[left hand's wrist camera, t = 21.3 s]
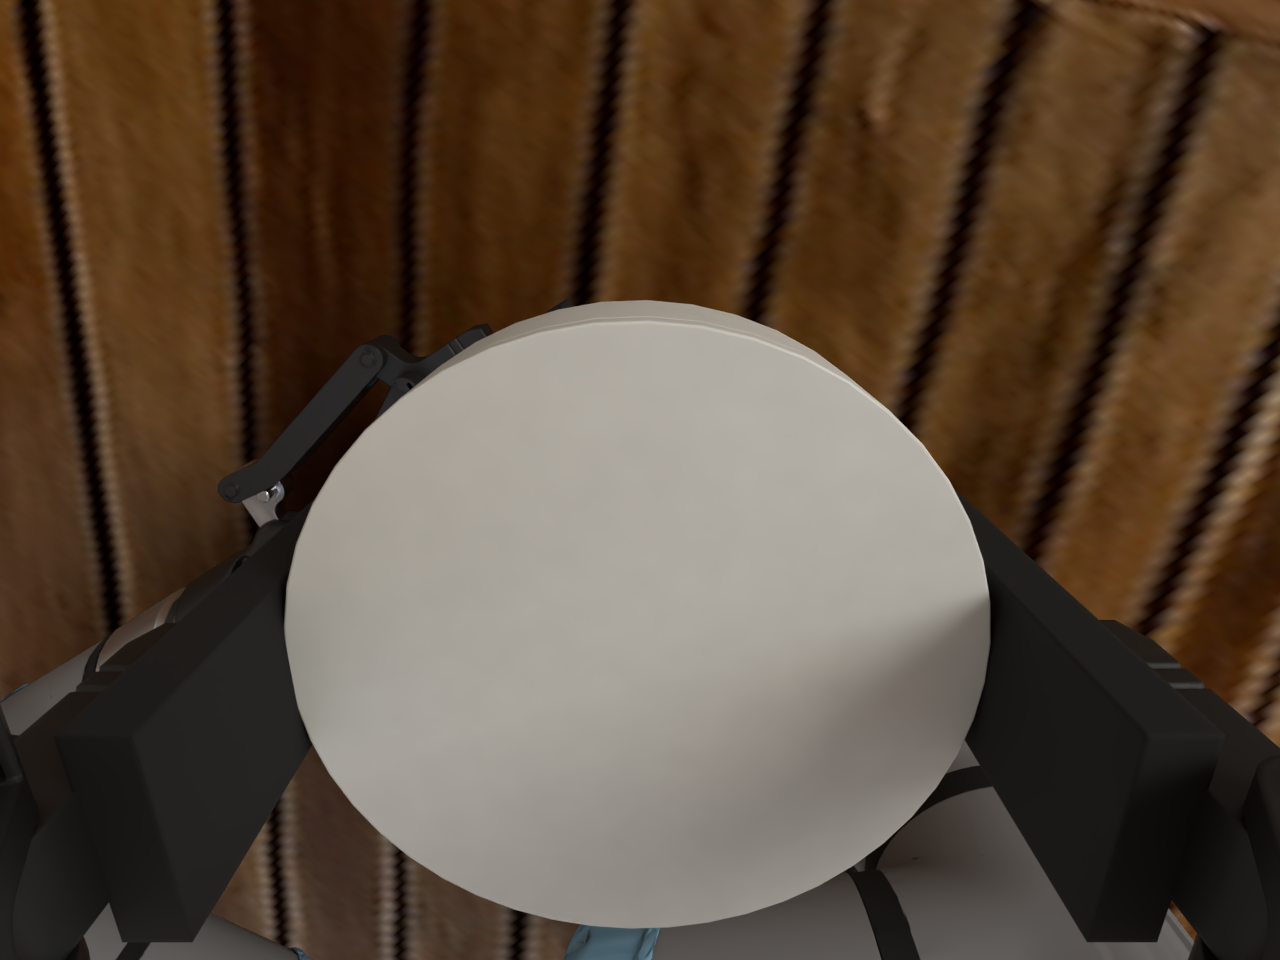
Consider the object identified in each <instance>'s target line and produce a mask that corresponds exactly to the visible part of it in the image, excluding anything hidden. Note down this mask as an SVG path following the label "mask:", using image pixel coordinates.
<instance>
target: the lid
mask: <svg viewBox="0 0 1280 960" xmlns="http://www.w3.org/2000/svg"><path fill="white" fill-rule="evenodd" d="M284 635H285V641H286V647H287V653H288V659H289V664H290V669H291V674H292V680H293V685H294V690H295V695H296V700H297V705H298V709H299V713H300V715H301V718H302V720H303V723H304V725H305V728H306V730H307V733H308V735H309V738H310V740H311V742H312V744H313V746H314V748H315V749H316V751H317V753H318V755H319V756H320V758H321V760H322V762H323V763H324V765H325V767H326V769H327V770H328V772H329V774H330V775H331V777H332V778H333V779H334V781H335V782H336V783H337V785H338V786H339V787H340V789H341V790H342V791H343V793H344V794H345V795H346V797H347V798H348V799H349V801H350V802H351V803H352V805H353V806H354V807H355V808H356V809H357V810H358V811H359V812H360V813H361V814H362V815H363V816H364V817H365V818H366V819H367V820H368V821H369V822H370V823H371V824H372V825H373V826H374V827H375V828H376V829H377V830H378V831H379V832H380V833H381V834H382V835H383V836H384V837H386V838H387V839H388V840H389V841H391V842H392V843H393V844H394V845H396V846H397V847H398V848H399V849H400V850H402V851H403V852H404V853H405V854H407V855H408V856H409V857H410V858H412V859H413V860H415V861H417V862H418V863H420V864H421V865H423V866H424V867H426V868H428V869H429V870H431V871H432V872H434V873H435V874H437V875H438V876H440V877H442V878H443V879H445V880H447V881H449V882H451V883H453V884H455V885H457V886H459V887H461V888H463V889H465V890H467V891H469V892H471V893H473V894H475V895H477V896H480V897H483V898H485V899H488V900H491V901H493V902H496V903H499V904H501V905H504V906H507V907H509V908H512V909H515V910H518V911H522V912H526V913H530V914H533V915H537V916H541V917H545V918H548V919H552V920H558V921H564V922H571V923H577V924H583V925H589V926H601V927H616V928H663V927H676V926H684V925H692V924H700V923H708V922H712V921H717V920H721V919H726V918H730V917H735V916H739V915H744V914H747V913H750V912H754V911H757V910H760V909H763V908H766V907H769V906H772V905H775V904H778V903H781V902H784V901H786V900H788V899H790V898H793V897H795V896H797V895H799V894H801V893H804V892H806V891H808V890H810V889H813V888H815V887H817V886H819V885H821V884H823V883H824V882H826V881H828V880H830V879H831V878H833V877H835V876H836V875H838V874H840V873H842V872H843V871H845V870H847V869H849V868H850V867H852V866H853V865H855V864H856V863H857V862H859V861H860V860H862V859H863V858H864V857H866V856H867V855H868V854H870V853H871V852H872V851H874V850H875V849H876V848H878V847H879V846H880V845H882V844H883V843H884V842H885V841H886V840H888V839H889V838H890V837H891V836H892V835H893V834H894V833H895V832H896V831H897V830H898V829H899V828H900V827H901V826H903V825H904V824H905V823H906V822H907V821H908V820H909V819H910V818H911V817H912V816H913V815H914V814H915V812H916V811H917V810H918V809H919V808H920V806H921V805H922V804H923V803H924V802H925V801H926V799H927V798H928V797H929V796H930V795H931V793H932V792H933V791H934V790H935V789H936V787H937V786H938V784H939V783H940V781H941V780H942V778H943V776H944V775H945V773H946V772H947V770H948V769H949V767H950V766H951V764H952V762H953V761H954V759H955V758H956V756H957V755H958V752H959V750H960V748H961V746H962V744H963V742H964V739H965V737H966V735H967V733H968V731H969V729H970V727H971V724H972V722H973V720H974V717H975V714H976V710H977V707H978V704H979V700H980V697H981V694H982V690H983V687H984V684H985V678H986V671H987V665H988V658H989V651H990V644H991V632H990V597H989V591H988V585H987V579H986V573H985V567H984V561H983V558H982V555H981V552H980V549H979V546H978V543H977V540H976V537H975V534H974V531H973V528H972V525H971V522H970V519H969V518H968V516H967V514H966V512H965V510H964V508H963V506H962V504H961V502H960V500H959V498H958V496H957V494H956V492H955V490H954V489H953V487H952V485H951V483H950V481H949V480H948V478H947V477H946V475H945V474H944V473H943V471H942V470H941V469H940V467H939V466H938V465H937V463H936V462H935V460H934V459H933V458H932V456H931V455H930V454H929V452H928V451H927V449H926V448H925V447H924V445H923V444H922V443H921V442H920V441H919V440H918V439H917V438H916V437H915V436H914V435H913V434H912V433H911V432H910V431H909V430H908V429H907V428H906V427H905V426H904V425H903V424H902V423H901V422H900V421H899V420H898V419H897V418H896V417H895V416H894V415H893V414H892V413H891V412H890V411H889V410H888V409H887V408H886V407H884V406H883V405H882V404H881V403H880V402H878V401H877V400H876V399H875V398H873V397H872V396H871V395H870V394H869V393H867V392H866V391H865V390H864V389H863V388H861V387H860V386H859V385H858V384H857V383H855V382H854V381H853V380H852V379H851V378H849V377H848V376H847V375H845V374H844V373H843V372H841V371H840V370H839V369H837V368H836V367H835V366H833V365H832V364H831V363H829V362H828V361H827V360H825V359H824V358H823V357H821V356H820V355H819V354H817V353H816V352H815V351H813V350H811V349H810V348H808V347H806V346H804V345H802V344H800V343H799V342H797V341H795V340H793V339H791V338H790V337H788V336H786V335H784V334H782V333H780V332H779V331H777V330H774V329H772V328H769V327H766V326H764V325H761V324H759V323H756V322H753V321H751V320H748V319H746V318H743V317H740V316H738V315H735V314H731V313H726V312H722V311H718V310H713V309H709V308H705V307H700V306H696V305H692V304H681V303H671V302H660V301H650V300H640V301H614V302H599V303H593V304H587V305H582V306H576V307H570V308H565V309H559V310H555V311H552V312H549V313H546V314H543V315H539V316H536V317H533V318H530V319H527V320H524V321H521V322H518V323H515V324H513V325H511V326H508V327H506V328H504V329H502V330H500V331H498V332H496V333H494V334H492V335H490V336H488V337H485V338H483V339H481V340H479V341H477V342H475V343H474V344H472V345H471V346H469V347H468V348H466V349H465V350H463V351H462V352H460V353H459V354H457V355H456V356H454V357H453V358H451V359H450V360H448V361H447V362H445V363H444V364H442V365H441V366H439V367H438V368H437V369H436V370H434V371H433V372H432V373H431V374H430V375H428V376H427V377H426V378H425V379H423V380H422V381H421V382H420V383H418V384H417V385H416V386H415V387H413V388H412V389H411V390H410V391H409V392H407V393H406V394H405V395H404V396H402V397H401V398H400V399H399V400H398V401H397V402H396V403H394V404H393V405H392V406H391V407H390V408H389V409H388V410H387V411H385V412H384V413H383V414H382V415H381V416H380V417H379V418H378V419H377V420H375V421H374V422H373V423H372V424H371V425H370V426H369V427H368V428H366V429H365V430H364V432H363V433H362V434H361V435H360V436H359V438H358V439H357V440H356V441H355V442H354V444H353V445H352V446H351V447H350V448H349V450H348V451H347V452H346V453H345V454H344V456H343V457H342V458H341V459H340V461H339V462H338V463H337V464H336V465H335V467H334V469H333V470H332V472H331V474H330V475H329V477H328V479H327V480H326V482H325V484H324V485H323V487H322V489H321V490H320V492H319V494H318V495H317V497H316V499H315V500H314V502H313V504H312V506H311V508H310V511H309V513H308V516H307V518H306V521H305V523H304V526H303V528H302V531H301V533H300V536H299V538H298V541H297V543H296V546H295V551H294V555H293V559H292V564H291V568H290V572H289V577H288V581H287V587H286V601H285V616H284Z"/></svg>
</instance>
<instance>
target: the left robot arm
mask: <svg viewBox="0 0 1280 960" xmlns="http://www.w3.org/2000/svg"><path fill="white" fill-rule="evenodd" d="M954 490H955V489H954ZM955 492H956V494H957V496H958V498H959V500H960V502H961V504H962V506H963V508H964V510H965V512H966V514H967V516H968V518H969V519H970V522H971V525H972V528H973V531H974V534H975V537H976V540H977V543H978V546H979V549H980V552H981V555H982V558H983V561H984V567H985V573H986V579H987V585H988V591H989V597H990V632H991V644H990V651H989V658H988V665H987V671H986V678H985V684H984V687H983V690H982V694H981V697H980V700H979V704H978V707H977V710H976V714H975V717H974V720H973V722H972V724H971V727H970V729H969V731H968V733H967V735H966V737H965V739H964V742H963V744H962V746H961V748H960V750H959V752H958V755H957V756H956V758H955V759H954V761H953V762H952V764H951V766H950V767H949V769H948V770H947V772H946V773H945V775H944V776H943V778H942V780H941V781H940V783H939V784H938V786H937V787H936V789H935V790H934V791H933V792H932V793H931V795H930V796H929V797H928V798H927V799H926V801H925V802H924V803H923V804H922V805H921V806H920V808H919V809H918V810H917V811H916V812H915V814H914V815H913V816H912V817H911V818H910V819H909V820H908V821H907V822H906V823H905V824H904V825H903V826H901V827H900V828H899V829H898V830H897V831H896V832H895V833H894V834H893V835H892V836H891V837H890V838H889V839H888V840H886V841H885V842H884V843H883V844H882V845H880V846H879V847H878V848H876V849H875V850H874V851H872V852H871V853H870V854H868V855H867V856H866V857H864V858H863V859H862V860H860V861H859V862H857V863H856V864H855V865H853V866H852V867H850V868H849V869H847V870H846V871H845V872H842V873H840V874H838V875H836V876H835V877H833V878H831V879H830V880H828V881H826V882H824V883H823V884H821V885H819V886H817V887H815V888H813V889H810V890H808V891H806V892H804V893H801V894H799V895H797V896H795V897H793V898H790V899H788V900H786V901H784V902H781V903H778V904H775V905H772V906H769V907H766V908H763V909H760V910H757V911H754V912H750V913H747V914H744V915H739V916H735V917H730V918H726V919H721V920H717V921H712V922H708V923H700V924H692V925H684V926H676V927H663V928H616V927H601V926H589V925H583V924H580V925H579V926H578V928H577V929H576V931H575V933H574V935H573V937H572V939H571V941H570V943H569V945H568V948H567V951H566V954H565V957H564V960H1280V748H1279V747H1278V746H1277V745H1276V744H1274V743H1273V742H1272V741H1271V740H1270V739H1268V738H1267V737H1266V736H1265V735H1264V734H1263V733H1261V732H1260V731H1259V730H1258V729H1257V728H1256V727H1254V726H1253V725H1252V724H1251V723H1250V722H1248V721H1247V720H1246V719H1245V718H1244V717H1243V716H1241V715H1240V714H1239V713H1238V712H1237V711H1236V710H1234V709H1233V708H1232V707H1231V706H1230V705H1228V704H1227V703H1226V702H1225V701H1224V700H1223V699H1221V698H1220V697H1219V696H1218V695H1217V694H1216V693H1214V692H1213V691H1212V690H1211V689H1205V687H1204V683H1203V682H1201V681H1200V680H1199V679H1198V678H1197V677H1196V676H1194V675H1193V674H1192V673H1191V672H1190V671H1189V670H1187V669H1182V668H1181V664H1180V663H1179V662H1178V661H1177V660H1176V659H1174V658H1173V657H1172V656H1171V655H1170V654H1169V653H1167V652H1166V651H1165V650H1164V649H1163V648H1161V647H1160V646H1159V645H1158V644H1157V643H1156V642H1154V641H1153V640H1152V639H1150V638H1148V637H1146V636H1144V635H1142V634H1140V633H1138V632H1136V631H1134V630H1132V629H1131V628H1129V627H1127V626H1125V625H1123V624H1121V623H1119V622H1117V621H1115V620H1098V619H1097V618H1096V617H1095V616H1094V615H1093V614H1092V613H1090V612H1089V611H1088V610H1087V609H1086V608H1085V607H1084V606H1083V605H1082V604H1081V603H1079V602H1078V601H1077V600H1076V599H1075V598H1074V597H1073V596H1072V595H1071V594H1069V593H1068V592H1067V591H1066V590H1065V589H1064V588H1063V587H1062V586H1061V585H1060V584H1058V583H1057V582H1056V581H1055V580H1054V579H1053V578H1052V577H1051V576H1050V575H1049V574H1047V573H1046V572H1045V571H1044V570H1043V569H1042V568H1041V567H1040V566H1039V565H1038V564H1036V563H1035V562H1034V561H1033V560H1032V559H1031V558H1030V557H1029V556H1028V555H1026V554H1025V553H1024V552H1023V551H1022V550H1021V549H1020V548H1019V547H1018V546H1017V545H1015V544H1014V543H1013V542H1012V541H1011V540H1010V539H1009V538H1008V537H1007V536H1006V535H1004V534H1003V533H1002V532H1001V531H1000V530H999V529H998V528H997V527H996V526H995V525H993V524H992V523H991V522H990V521H989V520H988V519H987V518H986V517H985V516H983V515H982V514H981V513H980V512H979V511H978V510H977V509H976V508H975V507H974V506H972V505H971V504H970V503H969V502H968V501H967V500H966V499H965V498H964V497H963V496H961V495H960V494H959V493H958V492H957V491H956V490H955ZM315 499H316V498H315ZM315 499H314V500H315ZM314 500H313V501H311V502H310V503H309V504H308V505H307V506H306V507H305V508H304V509H303V510H301V511H300V512H299V513H298V514H297V515H296V516H295V517H294V518H293V519H292V520H290V521H289V522H288V523H287V524H286V525H285V526H284V527H283V528H282V529H281V530H279V531H278V532H277V533H276V534H275V535H274V536H273V537H272V538H271V539H270V540H268V541H267V542H266V543H265V544H264V545H263V546H262V547H261V548H260V549H258V550H257V551H256V552H255V553H254V554H253V555H252V556H251V557H250V558H249V559H247V560H246V561H245V562H244V563H243V564H242V565H241V566H240V567H239V568H238V569H236V570H235V571H234V572H233V573H232V574H231V575H230V576H229V577H228V578H227V579H225V580H224V581H223V582H222V583H221V584H220V585H219V586H218V587H217V588H215V589H214V590H213V591H212V592H211V593H210V594H209V595H208V596H207V597H206V598H204V599H203V600H202V601H201V602H200V603H199V604H198V605H197V606H196V607H195V608H193V609H192V610H191V611H190V612H189V613H188V614H187V615H186V616H185V617H183V618H182V619H181V620H180V621H179V622H178V623H164V624H162V625H160V626H158V627H156V628H155V629H153V630H151V631H149V632H147V633H145V634H143V635H141V636H139V637H138V638H136V639H134V640H132V641H130V642H128V643H127V644H125V645H124V646H123V647H122V648H121V649H120V650H118V651H117V652H116V653H115V654H114V655H113V656H111V657H110V658H109V659H108V660H107V661H106V662H104V663H103V664H102V665H101V666H100V667H99V671H98V672H93V673H92V674H90V675H89V676H88V677H87V678H86V679H85V680H83V681H82V682H81V683H80V684H79V685H78V686H76V691H75V692H69V693H68V694H67V695H66V696H65V697H64V698H62V699H61V700H60V701H59V702H58V703H57V704H55V705H54V706H53V707H52V708H51V709H50V710H48V711H47V712H46V713H45V714H44V715H43V716H41V717H40V718H39V719H38V720H37V721H36V722H34V723H33V724H32V725H31V726H30V727H29V728H27V729H26V730H25V731H24V732H23V733H22V734H20V735H19V736H18V737H17V738H16V739H15V740H13V738H12V735H11V732H10V730H9V727H8V724H7V721H6V719H5V716H4V713H3V710H2V707H1V705H0V960H90V954H89V949H88V947H87V944H86V941H85V938H84V935H85V933H86V932H87V931H88V929H89V928H90V927H91V925H92V924H93V923H94V921H95V920H96V919H97V918H98V916H99V915H100V914H101V912H102V911H103V910H104V908H105V907H106V906H107V904H108V903H109V904H110V907H111V910H112V913H113V916H114V919H115V922H116V925H117V928H118V931H119V934H120V937H121V940H122V942H193V941H194V939H195V937H196V936H197V934H198V932H199V931H200V929H201V928H202V926H203V924H204V923H205V921H206V919H207V918H208V916H209V914H210V913H211V911H212V909H213V908H214V906H215V904H216V903H217V901H218V899H219V898H220V896H221V894H222V893H223V891H224V890H225V888H226V886H227V885H228V883H229V881H230V880H231V878H232V876H233V875H234V873H235V871H236V870H237V868H238V866H239V865H240V863H241V861H242V860H243V858H244V856H245V855H246V853H247V852H248V850H249V848H250V847H251V845H252V843H253V842H254V840H255V838H256V837H257V835H258V833H259V832H260V830H261V828H262V827H263V825H264V823H265V822H266V820H267V818H268V817H269V815H270V814H271V812H272V810H273V809H274V807H275V805H276V804H277V802H278V800H279V799H280V797H281V795H282V794H283V792H284V790H285V789H286V787H287V785H288V784H289V782H290V780H291V779H292V777H293V776H294V774H295V772H296V771H297V769H298V767H299V766H300V764H301V762H302V761H303V759H304V757H305V756H306V754H307V752H308V751H309V749H310V747H311V746H312V742H311V740H310V738H309V735H308V733H307V730H306V728H305V725H304V723H303V720H302V718H301V715H300V713H299V709H298V705H297V700H296V695H295V690H294V685H293V680H292V674H291V669H290V664H289V659H288V653H287V647H286V641H285V635H284V616H285V601H286V587H287V581H288V577H289V572H290V568H291V564H292V559H293V555H294V551H295V546H296V543H297V541H298V538H299V536H300V533H301V531H302V528H303V526H304V523H305V521H306V518H307V516H308V513H309V511H310V508H311V506H312V504H313V502H314ZM1171 900H1172V901H1173V902H1174V904H1175V905H1176V906H1177V907H1178V909H1179V910H1180V911H1181V913H1182V914H1183V915H1184V917H1185V918H1186V919H1187V921H1188V922H1189V923H1190V924H1191V926H1192V927H1193V928H1194V930H1195V931H1196V932H1197V935H1196V938H1195V941H1193V940H1192V938H1191V937H1190V936H1189V934H1188V933H1187V932H1186V931H1185V929H1184V928H1183V927H1182V925H1181V924H1180V923H1179V921H1178V920H1177V919H1176V917H1175V916H1174V915H1173V914H1172V912H1171V911H1170V910H1169V905H1170V902H1171Z"/></svg>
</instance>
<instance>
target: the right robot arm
mask: <svg viewBox="0 0 1280 960" xmlns="http://www.w3.org/2000/svg"><path fill="white" fill-rule="evenodd" d="M570 307H573V306H572V304H571V303H570V301H569V299H568V298H567V299H566V300H564V301H563V302H561V303H560V304H558V305H557V306H555V307H554V308H552V309H550V310H549V311H547V312H546V313H549V312H552V311H555V310H559V309H565V308H570ZM546 313H544V314H546ZM492 334H494V333H493V331H492V330H491V328H490V327H489V325H488V324H487V323H486V324H481V325H475V326H473V327H472V328H470V329H469V330H467V331H466V332H464V333H463V334H461V335H460V336H458V337H457V338H455V339H454V340H452V341H451V342H449V343H447V344H446V345H444V346H443V347H441V348H440V349H438V350H437V351H435V352H434V353H432V354H431V355H429V356H426V357H417V356H413V355H412V354H410V353H408V352H407V351H406V350H404V349H403V348H402V347H400V344H399V342H398V341H397V340H396V339H395V338H394V337H392V336H389V335H382V336H379V337H377V338H375V339H373V340H371V341H369V342H367V343H365V344H363V345H361V346H359V347H358V348H357V349H356V350H355V351H354V352H353V353H352V354H351V355H350V356H349V358H348V359H347V360H346V361H345V362H344V363H343V364H342V366H341V367H340V368H339V369H338V370H337V371H336V372H335V374H334V375H333V376H332V377H331V378H330V379H329V380H328V382H327V383H326V384H325V385H324V386H323V387H322V388H321V390H320V391H319V392H318V393H317V394H316V395H315V396H314V398H313V399H312V400H311V401H310V402H309V403H308V404H307V406H306V407H305V408H304V409H303V410H302V411H301V412H300V414H299V415H298V416H297V417H296V418H295V419H294V420H293V422H292V423H291V424H290V425H289V426H288V427H287V428H286V430H285V431H284V432H283V433H282V434H281V435H280V436H279V438H278V439H277V440H276V441H275V442H274V443H273V444H272V446H271V447H270V448H269V449H268V450H267V451H266V452H265V454H264V455H262V456H260V457H258V458H255V459H253V460H251V461H250V462H248V463H247V464H245V465H244V466H242V467H241V468H239V469H237V470H236V471H234V472H233V473H231V474H230V475H228V476H227V477H225V478H224V479H222V480H221V481H220V483H219V485H218V491H219V493H220V495H221V497H222V498H223V499H224V500H226V501H228V502H230V503H238V502H241V501H242V503H243V504H244V505H245V507H246V508H247V510H248V511H249V513H250V514H251V516H252V517H253V518H254V520H255V521H256V523H257V524H258V526H259V527H260V528H259V529H258V531H257V532H256V534H255V537H254V540H253V542H252V543H251V544H250V545H248V546H247V547H245V548H244V549H242V550H240V551H239V552H237V553H236V554H234V555H233V556H231V557H229V558H228V559H226V560H225V561H223V562H222V563H220V564H218V565H217V566H215V567H214V568H212V569H210V570H209V571H207V572H206V573H204V574H203V575H201V576H199V577H198V578H196V579H195V580H194V581H192V582H191V583H190V584H189V585H188V586H187V587H184V588H181V589H179V590H177V591H176V592H174V593H173V594H171V595H169V596H168V597H166V598H165V599H163V600H162V601H160V602H158V603H157V604H155V605H154V606H152V607H151V608H149V609H148V610H146V611H144V612H143V613H141V614H140V615H138V616H137V617H135V618H133V619H132V620H130V621H129V622H127V623H126V624H124V625H123V626H121V627H119V628H118V629H116V630H115V631H114V632H113V633H111V634H110V635H108V636H107V637H106V638H105V639H103V640H102V641H100V642H98V643H97V644H95V645H93V646H92V647H90V648H88V649H87V650H85V651H84V652H82V653H80V654H79V655H77V656H75V657H74V658H72V659H70V660H69V661H67V662H65V663H64V664H62V665H60V666H59V667H57V668H56V669H54V670H52V671H51V672H49V673H47V674H46V675H44V676H42V677H41V678H39V679H37V680H36V681H34V682H32V683H31V684H28V683H27V684H25V685H23V686H21V687H20V688H18V689H16V690H15V691H13V692H12V693H10V694H9V695H7V696H6V697H4V698H3V699H1V700H0V705H1V707H2V710H3V713H4V716H5V719H6V721H7V724H8V727H9V730H10V732H11V735H12V738H13V740H15V739H16V738H17V737H18V736H19V735H20V734H22V733H23V732H24V731H25V730H26V729H27V728H29V727H30V726H31V725H32V724H33V723H34V722H36V721H37V720H38V719H39V718H40V717H41V716H43V715H44V714H45V713H46V712H47V711H48V710H50V709H51V708H52V707H53V706H54V705H55V704H57V703H58V702H59V701H60V700H61V699H62V698H64V697H65V696H66V695H67V694H68V693H69V692H75V691H76V686H78V685H79V684H80V683H81V682H82V681H83V680H85V679H86V678H87V677H88V676H89V675H90V674H92V673H93V672H98V671H99V667H100V666H101V665H102V664H103V663H104V662H106V661H107V660H108V659H109V658H110V657H111V656H113V655H114V654H115V653H116V652H117V651H118V650H120V649H121V648H122V647H123V646H124V645H125V644H127V643H128V642H130V641H132V640H134V639H136V638H138V637H139V636H141V635H143V634H145V633H147V632H149V631H151V630H153V629H155V628H156V627H158V626H160V625H162V624H164V623H178V622H179V621H180V620H181V619H182V618H183V617H185V616H186V615H187V614H188V613H189V612H190V611H191V610H192V609H193V608H195V607H196V606H197V605H198V604H199V603H200V602H201V601H202V600H203V599H204V598H206V597H207V596H208V595H209V594H210V593H211V592H212V591H213V590H214V589H215V588H217V587H218V586H219V585H220V584H221V583H222V582H223V581H224V580H225V579H227V578H228V577H229V576H230V575H231V574H232V573H233V572H234V571H235V570H236V569H238V568H239V567H240V566H241V565H242V564H243V563H244V562H245V561H246V560H247V559H249V558H250V557H251V556H252V555H253V554H254V553H255V552H256V551H257V550H258V549H260V548H261V547H262V546H263V545H264V544H265V543H266V542H267V541H268V540H270V539H271V538H272V537H273V536H274V535H275V534H276V533H277V532H278V531H279V530H281V529H282V528H283V527H284V526H285V525H286V524H287V523H288V522H289V521H290V520H292V519H293V518H294V517H295V516H296V515H297V514H298V513H299V512H300V511H286V509H285V506H284V500H285V498H286V496H287V495H288V494H289V493H290V492H291V491H292V489H293V477H292V475H291V474H290V473H291V472H292V471H293V470H295V469H296V468H297V467H299V466H300V465H301V464H302V463H304V462H305V461H306V460H307V459H308V458H309V457H310V456H311V455H312V454H313V453H314V451H315V450H316V449H317V448H318V447H319V446H320V445H321V444H322V443H323V441H324V440H325V439H326V438H327V437H328V436H329V435H330V434H331V433H332V431H333V430H334V429H335V428H336V427H337V426H338V425H339V424H340V423H341V421H342V420H343V419H344V418H345V417H346V416H347V415H348V414H349V412H350V411H351V410H352V409H353V408H354V407H355V406H356V405H357V404H358V402H359V401H360V400H361V399H362V398H363V397H364V396H365V395H366V394H367V392H368V391H369V390H370V389H371V388H372V387H373V386H374V385H375V384H376V382H377V381H378V380H379V379H380V380H382V381H383V382H385V383H386V384H387V385H389V386H390V387H391V389H390V391H389V393H388V395H387V397H386V399H385V401H384V403H383V405H382V407H381V409H380V411H379V413H378V415H377V417H376V419H375V420H377V419H378V418H379V417H380V416H381V415H382V414H383V413H384V412H385V411H387V410H388V409H389V408H390V407H391V406H392V405H393V404H394V403H396V402H397V401H398V400H399V399H400V398H401V397H402V396H404V395H405V394H406V393H407V392H409V391H410V390H411V389H412V388H413V387H415V386H416V385H417V384H418V383H420V382H421V381H422V380H423V379H425V378H426V377H427V376H428V375H430V374H431V373H432V372H433V371H434V370H436V369H437V368H438V367H439V366H441V365H442V364H444V363H445V362H447V361H448V360H450V359H451V358H453V357H454V356H456V355H457V354H459V353H460V352H462V351H463V350H465V349H466V348H468V347H469V346H471V345H472V344H474V343H475V342H477V341H479V340H481V339H483V338H485V337H488V336H490V335H492ZM84 938H85V941H86V944H87V947H88V949H89V954H90V960H313V959H311V958H310V957H308V956H307V955H306V954H305V953H304V952H303V951H302V950H301V949H298V948H296V947H294V948H287V947H285V946H282V945H280V944H278V943H276V942H274V941H271V940H269V939H267V938H265V937H262V936H260V935H258V934H256V933H254V932H251V931H249V930H247V929H245V928H243V927H240V926H238V925H236V924H234V923H232V922H229V921H227V920H225V919H223V918H220V917H218V916H216V915H214V914H212V913H210V914H209V916H208V918H207V919H206V921H205V923H204V924H203V926H202V928H201V929H200V931H199V932H198V934H197V936H196V937H195V939H194V941H193V942H122V940H121V937H120V934H119V931H118V928H117V925H116V922H115V919H114V916H113V913H112V910H111V907H110V904H109V903H108V904H107V906H106V907H105V908H104V910H103V911H102V912H101V914H100V915H99V916H98V918H97V919H96V920H95V921H94V923H93V924H92V925H91V927H90V928H89V929H88V931H87V932H86V933H85V935H84Z"/></svg>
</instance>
